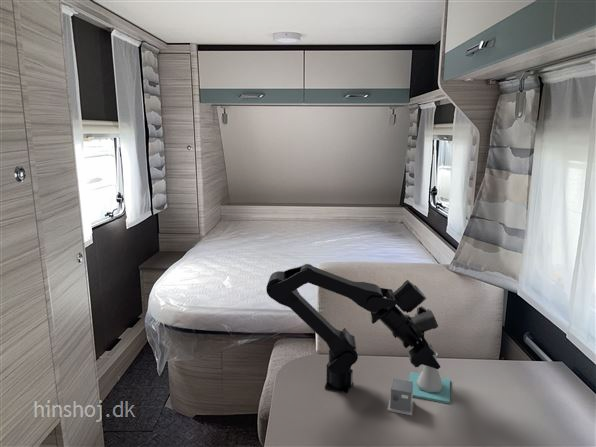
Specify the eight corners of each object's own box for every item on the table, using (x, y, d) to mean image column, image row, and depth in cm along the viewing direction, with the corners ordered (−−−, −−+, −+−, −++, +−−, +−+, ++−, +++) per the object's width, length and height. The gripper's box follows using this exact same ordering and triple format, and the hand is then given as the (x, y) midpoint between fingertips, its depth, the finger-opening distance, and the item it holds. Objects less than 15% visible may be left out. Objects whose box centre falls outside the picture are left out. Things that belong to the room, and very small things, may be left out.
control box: (387, 410, 113) (388, 389, 112) (390, 397, 119) (391, 377, 117) (411, 415, 111) (413, 394, 110) (413, 401, 117) (415, 381, 115)
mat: (406, 395, 119) (406, 393, 119) (409, 374, 129) (410, 372, 129) (449, 403, 116) (449, 401, 116) (449, 380, 126) (449, 379, 126)
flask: (442, 380, 125) (445, 348, 123) (443, 395, 118) (446, 361, 116) (416, 376, 127) (418, 344, 125) (415, 391, 120) (417, 357, 118)
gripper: (428, 318, 108) (470, 360, 110) (413, 289, 126) (449, 326, 128) (393, 346, 110) (435, 387, 112) (384, 314, 128) (420, 350, 130)
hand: (436, 360), depth 121 cm, fingers open, 7 cm apart
